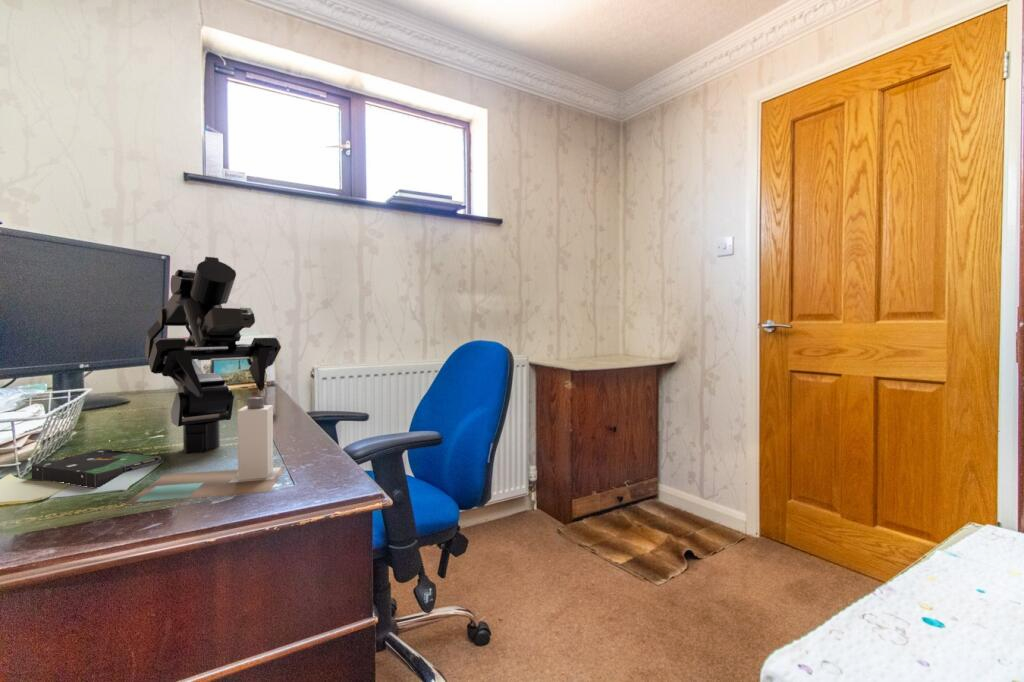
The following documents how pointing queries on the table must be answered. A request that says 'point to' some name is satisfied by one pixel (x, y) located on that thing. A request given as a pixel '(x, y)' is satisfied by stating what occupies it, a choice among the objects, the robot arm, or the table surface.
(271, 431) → the capped white bottle
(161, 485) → the board
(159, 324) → the robot arm
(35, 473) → the disk drive
